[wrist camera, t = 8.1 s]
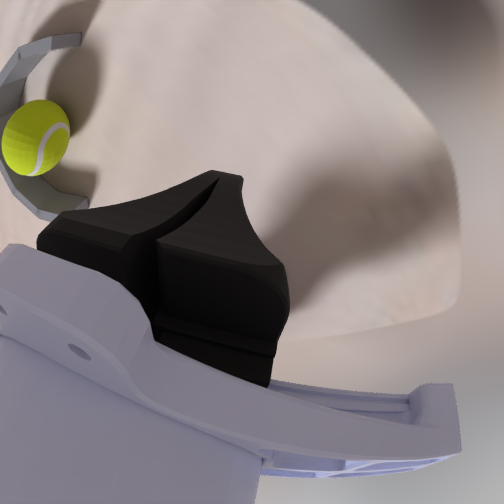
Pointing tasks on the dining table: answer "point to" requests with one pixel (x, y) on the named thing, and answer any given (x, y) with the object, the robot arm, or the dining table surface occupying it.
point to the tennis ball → (35, 137)
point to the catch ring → (3, 107)
